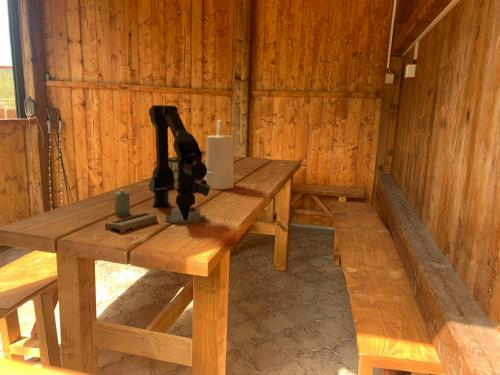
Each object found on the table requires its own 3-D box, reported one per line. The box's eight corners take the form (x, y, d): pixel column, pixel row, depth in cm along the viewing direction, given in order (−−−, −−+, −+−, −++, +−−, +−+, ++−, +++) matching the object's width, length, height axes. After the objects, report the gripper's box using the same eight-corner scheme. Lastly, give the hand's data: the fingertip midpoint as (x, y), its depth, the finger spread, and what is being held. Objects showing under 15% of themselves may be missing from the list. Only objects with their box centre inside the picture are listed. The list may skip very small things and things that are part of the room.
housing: (165, 223, 134) (165, 210, 133) (166, 218, 140) (166, 205, 139) (205, 222, 136) (206, 210, 135) (205, 217, 142) (205, 205, 141)
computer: (141, 219, 139) (141, 210, 139) (157, 223, 135) (157, 214, 134) (104, 229, 126) (104, 219, 126) (121, 234, 122) (120, 224, 121)
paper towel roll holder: (237, 188, 194) (239, 121, 187) (208, 189, 189) (209, 120, 182) (227, 182, 208) (229, 119, 201) (200, 183, 202) (201, 118, 196)
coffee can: (182, 183, 200) (182, 156, 198) (191, 187, 192) (191, 159, 189) (163, 185, 195) (163, 157, 192) (171, 189, 186) (171, 160, 184)
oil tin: (116, 212, 144) (116, 188, 143) (130, 212, 145) (130, 188, 143) (114, 216, 140) (113, 191, 138) (128, 216, 140) (128, 191, 138)
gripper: (210, 179, 127) (209, 225, 130) (208, 170, 145) (207, 210, 148) (176, 179, 125) (176, 225, 128) (177, 169, 143) (177, 210, 147)
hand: (185, 217), depth 138 cm, fingers closed on housing, 6 cm apart
